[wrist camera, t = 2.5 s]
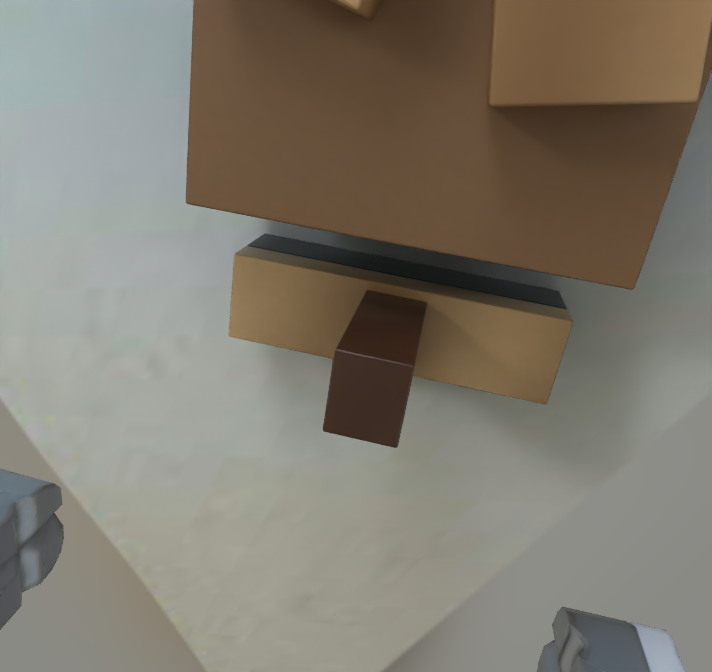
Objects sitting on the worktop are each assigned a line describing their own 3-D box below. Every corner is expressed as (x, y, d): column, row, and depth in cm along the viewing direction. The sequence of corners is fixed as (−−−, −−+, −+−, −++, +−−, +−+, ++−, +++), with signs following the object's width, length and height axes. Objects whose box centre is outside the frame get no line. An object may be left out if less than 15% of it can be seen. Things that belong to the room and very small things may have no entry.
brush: (559, 290, 21) (607, 395, 14) (537, 365, 23) (570, 498, 15) (264, 233, 23) (162, 300, 15) (257, 307, 24) (159, 404, 16)
